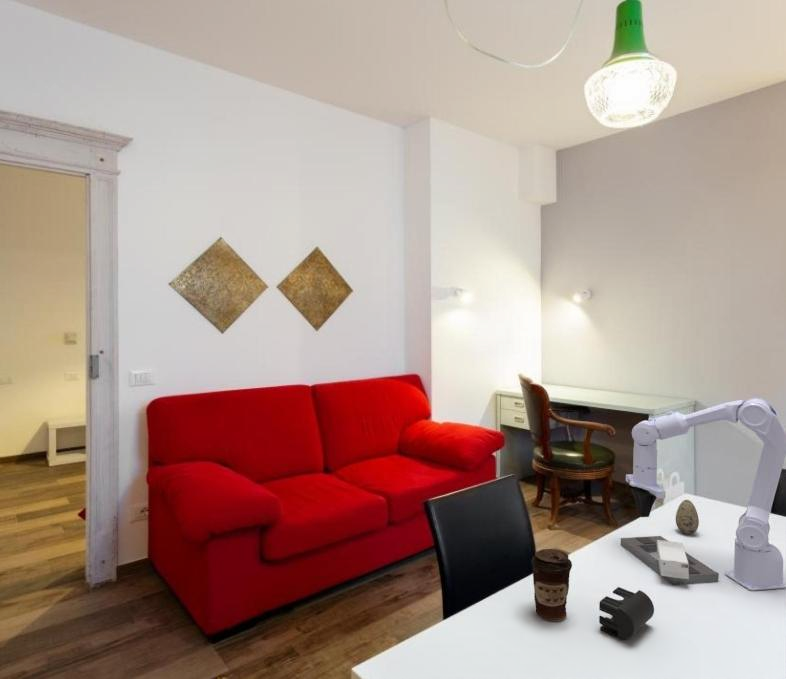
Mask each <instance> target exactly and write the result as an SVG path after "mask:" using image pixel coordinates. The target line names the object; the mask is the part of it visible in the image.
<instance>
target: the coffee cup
mask: <svg viewBox="0 0 786 679" xmlns="http://www.w3.org/2000/svg"><path fill="white" fill-rule="evenodd" d="M569 556H570V555H569V554H568V553H567V552H564V551H562V550H559V549H553V548H545V549H544V548H543V549H540V550H538V551H536V552H534V555H533V556H532V558H531V561H530V562H531V565H532V578H533V579H532V580H533V588H534V590H533V593H534V604H535V614H536V615H537V616H538V617H539V618H541V619H543V620H546V621H549V622H560V621H563V620H565V619H567V597H568V595H569V594H568V593H569V588H570V573H571V570H572V567H573V563H572V561H571V559H569Z"/></svg>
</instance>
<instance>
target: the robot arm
mask: <svg viewBox="0 0 786 679" xmlns="http://www.w3.org/2000/svg"><path fill="white" fill-rule="evenodd" d="M779 416H780V415H779V414H778V412H777V409H776V408H774V407H773V405H771V404H770V403H769V402H768V401H767V400H765V399H764V398H760V397H751V398H747V399H746V400H744V399H738V400H733V401H728V402H724V403H721V404H717V405H713V406H711V407H708V408H705V409H701V410H698V411H695V412H692V413H688V414H683V413H681V412H678V411H676V412H674V411H673V410H670V411H667V412H666V414H665V415H662V416H659V417H655V418H654V417H649V418H648V420H642V421H640V422H638V423H637V424H635V425H634V426H633V428H632V429H631V430H632V431H631V436H632V439H633V450H632V452H633V456H632V457H633V462H632V470H633V471H632V474H631V473H630V474H629V473H628V474H625V482H627V483H629V484H628V485H629V486H631V487H632V488H630V492H631V494H632V496H633V498H634V500H635V504H636V507H637V508H636V509H637V512H638V516H640V517H642V518H649V517H650V515H651V511H652V509H653V505H654V503H655V502H656V500H657V499H659V500H660V499H666V491H665V490H664V489H663V488H662V487H661V486H660V485H659V484H658V476H657V475H658V474H657V473H658V448H657V447H658V446H657V444H658V443H657V442H658V441H657V440H660V441H663V440H667V439H670V438H673V437H678V436H682V435H683V436H684V435H686V434H688V432H689V430H690V428H692V427H697V426H700V425H705V424H710V423H714V422H718V421H727V422H731V423H734V424H737V423H738V421H739V422H740V423H741V424H742V425H743V426H745V427H746V428H748V430H751V431H752V432H754V433H755V435H756V436H757V437H758V438H759V439H760V440H761V441H762V443H763V447H762V450H761V454H760V458H759V461H758V464H757V470H756V474H755V476H754V480H753V485H752V489H751V492H750V495H749V501H748V503H747V507H746V510H745V512H744V513H743V514H741V515H740V517H739V520H738V526H737V527H736V531H735V537H736V538H734V555H733V556H734V558H733V560H734V561H733V571H726V572H724V575H726V576H727V577H729V578H730V579H732V580H733V581H735V582H736V583H738V584H740V585H741V586H743V587H744V588H745V589H748V590H749V591H759V590H761V591H764V590H774V589H786V585H785V584H784V581H783V580H784V557H783V554H782V552H781V551H780V549H779V548H778V547H777V546H775V545H774V544H773V543H769V534H770V533H769V532H770V530H771V528H770V523H769V520H770V515H771V510H772V507H773V503H774V501H775V500H774V499H775V495H776V492H777V489H778V485H779V482H780V477H781V473H782V470H783V466H784V462H785V458H786V429H785V426H784V425H783V422H782V420H781V418H780V417H779Z"/></svg>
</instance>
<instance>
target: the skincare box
mask: <svg viewBox="0 0 786 679" xmlns="http://www.w3.org/2000/svg"><path fill="white" fill-rule="evenodd" d="M685 552H686V550H685V548H684V545H683V542H677V541H670V540H667V541H663V540H657V552H656V555H657V560H658V562H659V567H660V573H661V576H667V577H675V578H683V579H689V564H688V560H687V557H686V554H685Z"/></svg>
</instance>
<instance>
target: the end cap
mask: <svg viewBox="0 0 786 679" xmlns="http://www.w3.org/2000/svg"><path fill="white" fill-rule="evenodd" d="M612 594H614V595H616V596H619V597H621V598H622V599H615V598H612V597H610V596H607V595H606V596H604V597H603V598H602V599H601V600H600V601H599V604H598V605H599V607H598V608H599V611H601V612H603V613H605V614H608V615H610V616H611V617H608V616H605V617H604V616H602V615H599V616H598V623H599V625H600V627H599V631H600V632H602V633H604V634H606V635H608V636H611V637H612V638H614V639H617V640H619V641H624V640H628V639H630V638H631V637H633V635H635V634H636V633H637V632H638V631H640V629H642V628H643V626H644V625H646V623H647V622H648V621H649V620H650V619H652V618H653V616H654V614H655V607H654V603H653V601H652V599H651V598H650V596H649V595H647V593H646V592H644V591H642V590H640V589H639V590H637V591H636V592H633V591H630V590H627V589H625V588H622V587H620V586H617V587H616V588H615V589H614V590H612Z"/></svg>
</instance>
